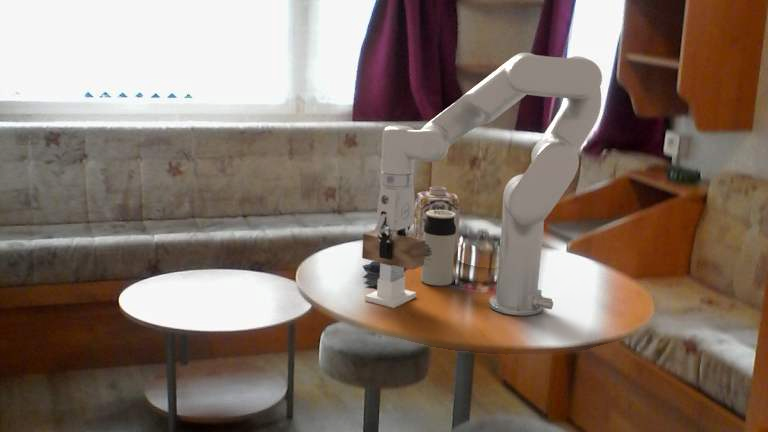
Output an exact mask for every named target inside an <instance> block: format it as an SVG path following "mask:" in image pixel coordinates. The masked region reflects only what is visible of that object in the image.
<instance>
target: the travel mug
mask: <svg viewBox="0 0 768 432" xmlns="http://www.w3.org/2000/svg"><path fill="white" fill-rule="evenodd" d="M426 215H427V221H426V223H425V224H424V237H423V240H425V254H424V265H423V266H421V271H420V273H421V274H420V281H421V282H422V283H424V284H425V285H427V286H433V287H444V286H445V287H446V286H448V285H451V284H452V283H453V272H454V262H455V254H454V249H455V234H456V226H455V223H454V218H455V216H456V214H455V213H454V212H451V211H446V210H430V211H427V212H426Z"/></svg>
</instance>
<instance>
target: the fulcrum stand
mask: <svg viewBox="0 0 768 432" xmlns="http://www.w3.org/2000/svg"><path fill="white" fill-rule="evenodd" d="M416 297H417V292H416V291H412V290H408V289H406V276H405V268H402V267H398V266H394V265H389V264H385V263H380V278H379V279H378V283H377V288H376V290H374V291H372V292H370V293H368V294H366V295H364V302H369V303H372V302H373V303H372V304H378V305H382V306H384V307H388V308H393V309H395V308H397V307H400V306H401V305H403V304H405V303H406V302H409V301H411V300H412V299H414V298H416Z"/></svg>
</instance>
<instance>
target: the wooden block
mask: <svg viewBox="0 0 768 432" xmlns="http://www.w3.org/2000/svg"><path fill="white" fill-rule="evenodd" d="M385 233H386V234H387V236H388V233H389V232H387V231H385ZM391 243H393V249H392V259H390V260H389V259H384V258H380V257H379V249H380V241H379V237H378V235H377V233H376V232H375V229H373V230H370V231H367V232H364V233H363V234H362V253H361V254H362V255H361V258H362V259H364V260H368V261H371V262H373V261H376V262H381V263H385V264H389V265H394V266H398V267H402V268H404V269H407V270H412V271H414V270H416V269H419V268H420V267H421V268H422V266H423V265H424V254H425V240H421V239H417V238H413V236H408V237H407V236H402V235H397V234H396V233H393V236H392V240H391Z"/></svg>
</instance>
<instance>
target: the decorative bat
mask: <svg viewBox="0 0 768 432" xmlns="http://www.w3.org/2000/svg"><path fill="white" fill-rule="evenodd" d="M380 263H381V262H376V261H371V262H370V263H369V264H364V265H362V266H361V267H362V268H363V270H364V271H365V272H366V273H367V274H364V276H363V277H362V278H363V279H367V280H366V281H365V282H364V283H363V284H364V285H367V286H370V287H373V288H376V289H377V283H378V279H379V278H380Z"/></svg>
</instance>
